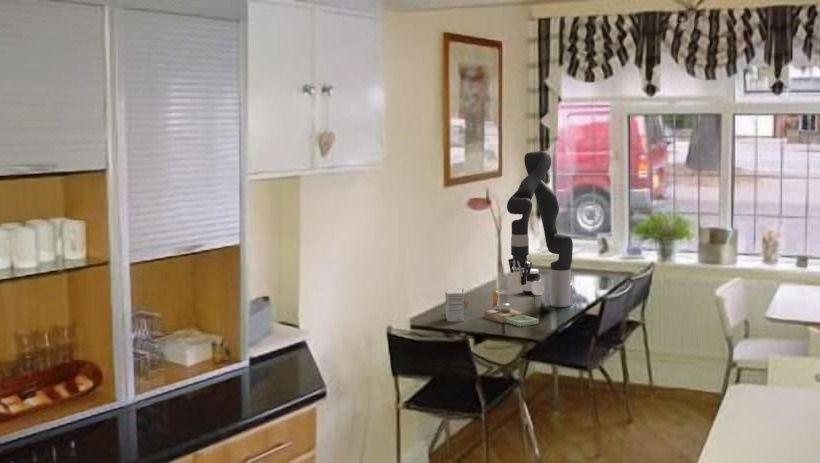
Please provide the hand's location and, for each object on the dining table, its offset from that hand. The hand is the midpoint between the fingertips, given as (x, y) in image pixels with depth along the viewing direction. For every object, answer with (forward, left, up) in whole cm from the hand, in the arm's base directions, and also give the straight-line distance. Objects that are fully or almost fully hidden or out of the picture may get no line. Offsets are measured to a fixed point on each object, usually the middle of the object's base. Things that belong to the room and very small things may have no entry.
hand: (520, 283), depth 421 cm
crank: (-1, -15, -14) cm, 20 cm away
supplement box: (+19, -23, -18) cm, 34 cm away
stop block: (0, 0, -1) cm, 1 cm away
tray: (0, +1, -17) cm, 17 cm away
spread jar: (-45, -46, -18) cm, 67 cm away
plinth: (0, -11, -17) cm, 21 cm away
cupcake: (+10, -32, -17) cm, 37 cm away
